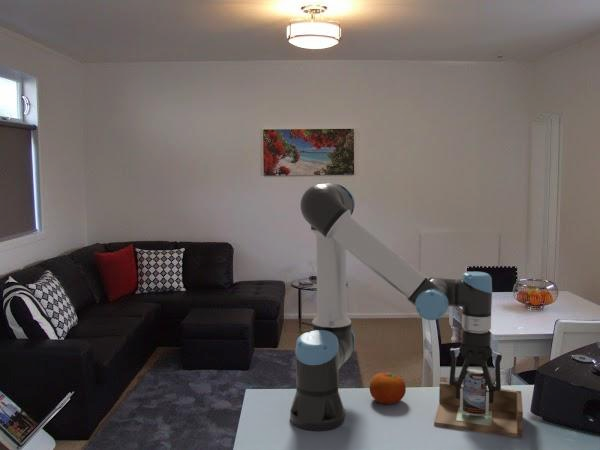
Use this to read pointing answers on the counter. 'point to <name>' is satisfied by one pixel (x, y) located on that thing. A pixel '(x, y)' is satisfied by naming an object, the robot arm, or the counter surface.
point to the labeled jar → (474, 392)
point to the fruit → (387, 388)
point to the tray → (499, 421)
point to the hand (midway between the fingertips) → (474, 411)
